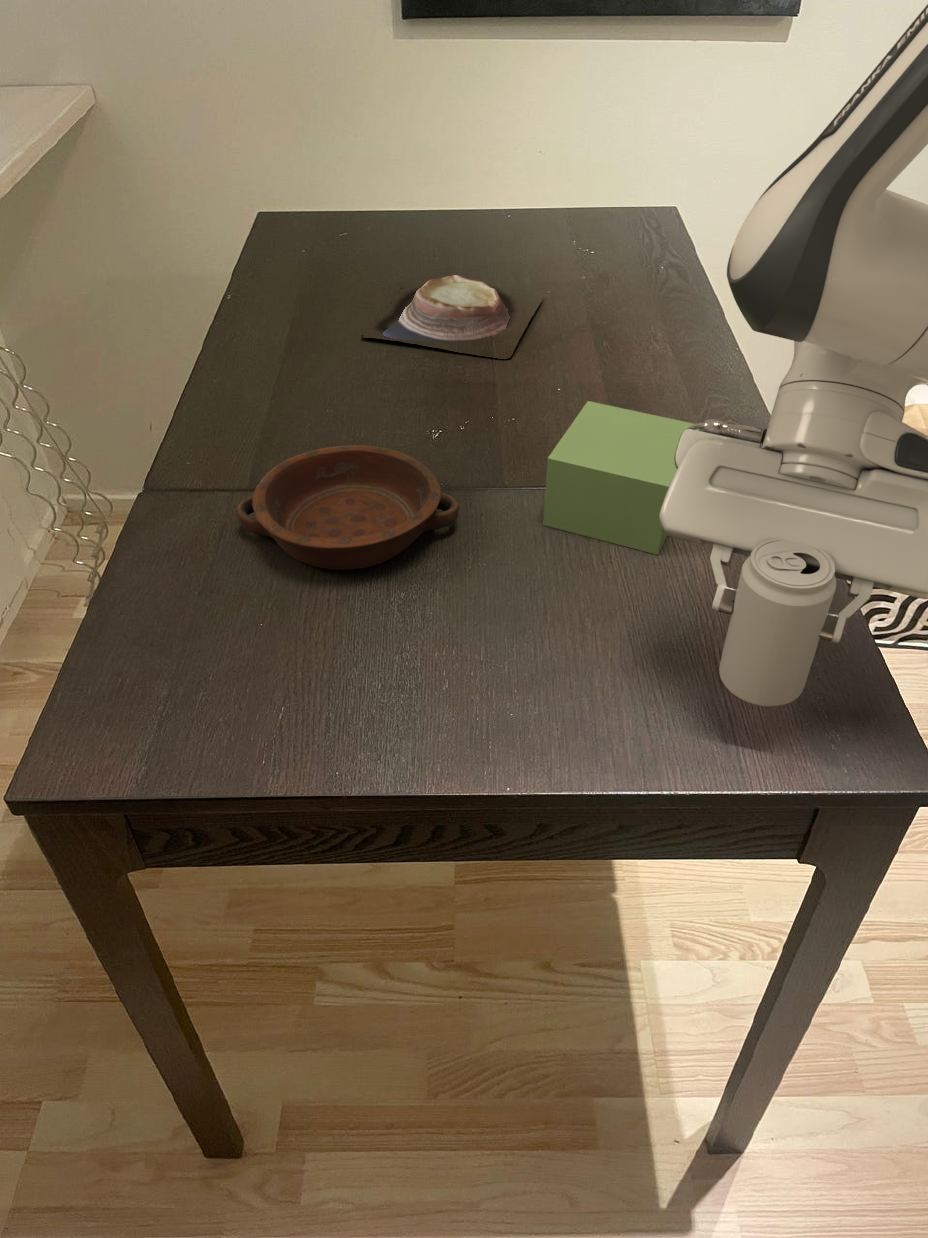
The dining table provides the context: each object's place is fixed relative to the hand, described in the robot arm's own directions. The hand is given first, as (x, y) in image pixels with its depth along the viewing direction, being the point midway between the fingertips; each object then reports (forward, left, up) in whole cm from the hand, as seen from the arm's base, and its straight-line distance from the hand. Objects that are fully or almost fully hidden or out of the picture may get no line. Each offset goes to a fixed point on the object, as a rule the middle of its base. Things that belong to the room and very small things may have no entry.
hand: (774, 626), depth 69 cm
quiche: (+45, -65, -11) cm, 80 cm away
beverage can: (0, -1, -7) cm, 7 cm away
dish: (+40, -15, -11) cm, 44 cm away
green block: (+15, -27, -11) cm, 33 cm away
